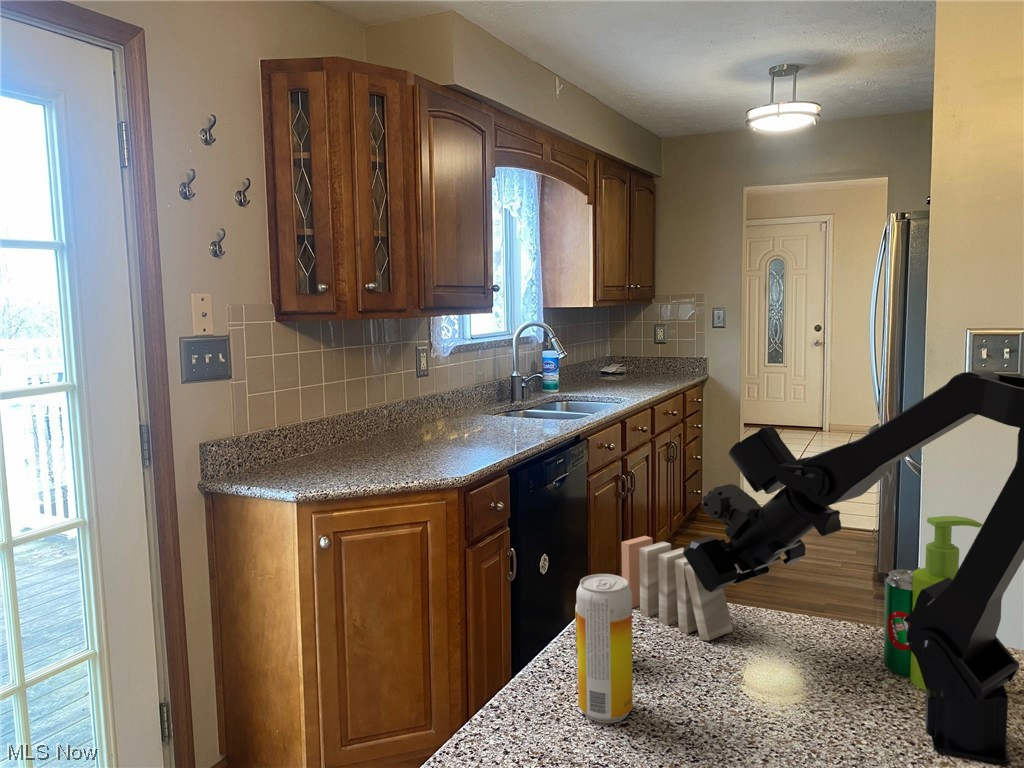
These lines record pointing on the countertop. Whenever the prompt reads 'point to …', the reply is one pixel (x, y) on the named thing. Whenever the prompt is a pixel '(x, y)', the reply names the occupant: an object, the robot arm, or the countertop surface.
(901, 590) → the soda can
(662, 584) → the domino
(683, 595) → the domino
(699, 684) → the countertop surface
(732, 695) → the countertop surface
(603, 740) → the countertop surface
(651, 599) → the domino
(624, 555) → the domino
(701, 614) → the domino
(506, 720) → the countertop surface
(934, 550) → the soap dispenser
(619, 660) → the beer can
